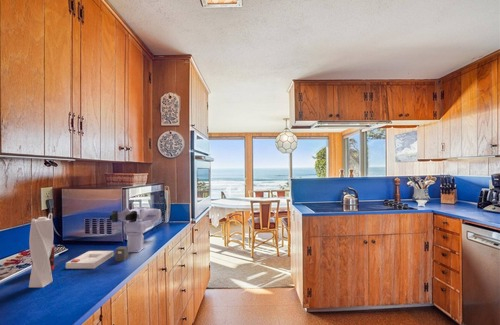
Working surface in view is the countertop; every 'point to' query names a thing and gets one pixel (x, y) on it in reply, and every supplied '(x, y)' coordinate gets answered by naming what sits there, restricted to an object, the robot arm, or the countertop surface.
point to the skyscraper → (41, 251)
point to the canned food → (51, 257)
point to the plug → (121, 253)
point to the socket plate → (90, 259)
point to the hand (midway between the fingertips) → (118, 217)
